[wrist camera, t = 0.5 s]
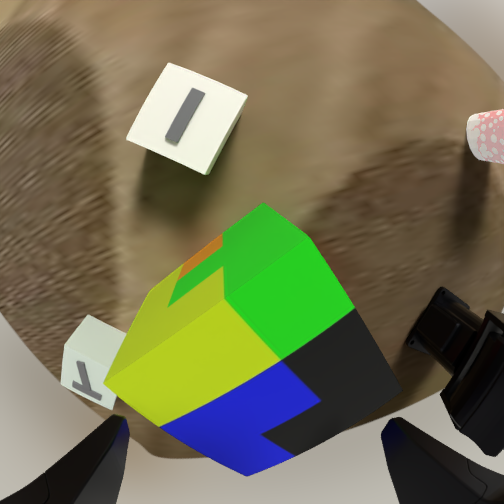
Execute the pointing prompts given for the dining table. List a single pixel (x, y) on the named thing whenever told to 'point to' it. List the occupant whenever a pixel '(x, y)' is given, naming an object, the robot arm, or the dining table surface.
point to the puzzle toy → (252, 350)
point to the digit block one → (187, 118)
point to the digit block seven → (91, 360)
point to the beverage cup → (487, 135)
